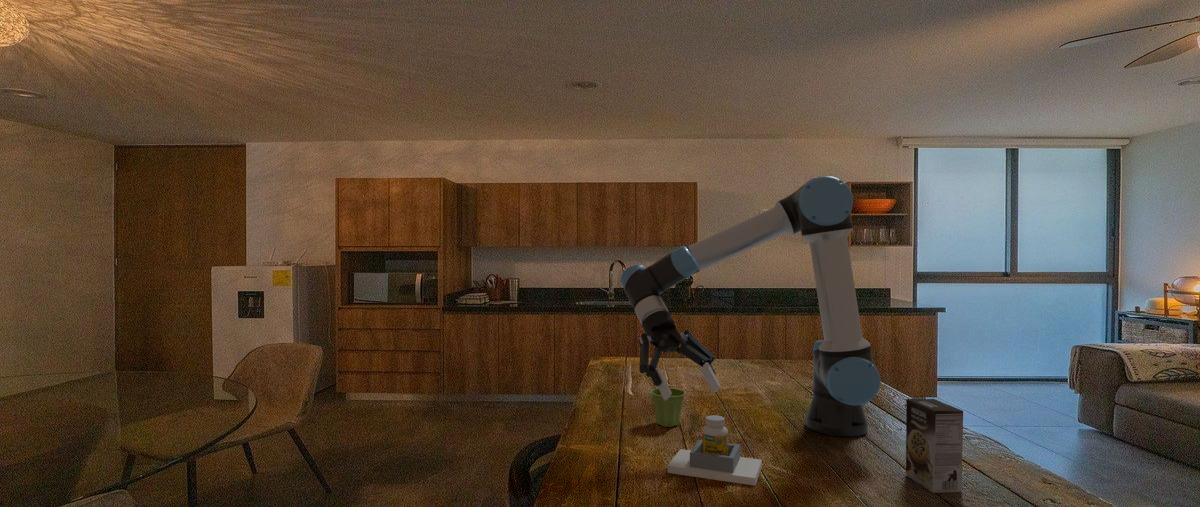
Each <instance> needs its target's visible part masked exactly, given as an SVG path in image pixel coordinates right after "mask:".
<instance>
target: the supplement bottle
mask: <svg viewBox="0 0 1200 507" xmlns="http://www.w3.org/2000/svg"><path fill="white" fill-rule="evenodd" d="M725 421H726V420H725V417H723V416H722V415H716V414H715V415H714V414H713V415H707V416H706V417H705V425H706V426H703V428H702V440H703V453H708V454H716V455H724V456H728V443H729V431H728V430H729V429H728V428H727V427H726V426H725V424H726V423H725Z"/></svg>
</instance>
